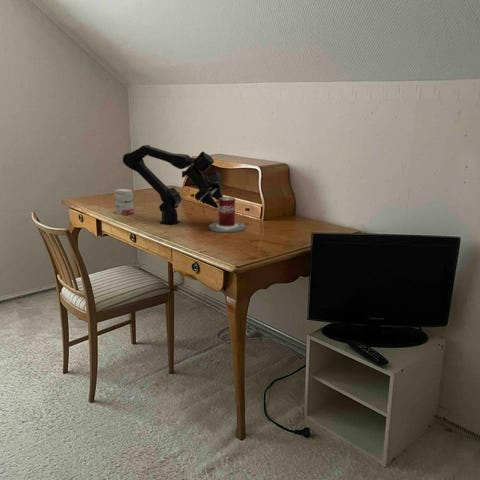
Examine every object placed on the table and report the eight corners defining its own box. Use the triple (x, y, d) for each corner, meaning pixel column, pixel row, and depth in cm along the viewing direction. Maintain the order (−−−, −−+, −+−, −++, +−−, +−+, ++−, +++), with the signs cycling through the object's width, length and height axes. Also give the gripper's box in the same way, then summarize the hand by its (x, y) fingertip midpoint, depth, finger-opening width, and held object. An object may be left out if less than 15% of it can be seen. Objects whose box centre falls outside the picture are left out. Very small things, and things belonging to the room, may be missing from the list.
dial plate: (209, 223, 227) (209, 221, 227) (244, 223, 228) (244, 220, 227) (208, 232, 212) (208, 230, 211) (246, 232, 212) (246, 230, 212)
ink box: (134, 214, 244) (133, 190, 241) (127, 215, 240) (125, 191, 237) (123, 211, 249) (121, 188, 246) (115, 213, 245) (113, 189, 242)
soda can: (220, 222, 223) (220, 196, 220) (236, 223, 222) (236, 197, 219) (217, 226, 216) (216, 199, 213) (233, 227, 215) (233, 200, 212)
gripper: (201, 169, 206) (226, 197, 206) (217, 163, 223) (240, 189, 223) (184, 186, 210) (208, 214, 210) (201, 179, 227) (223, 205, 227)
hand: (221, 205), depth 218 cm, fingers open, 9 cm apart
